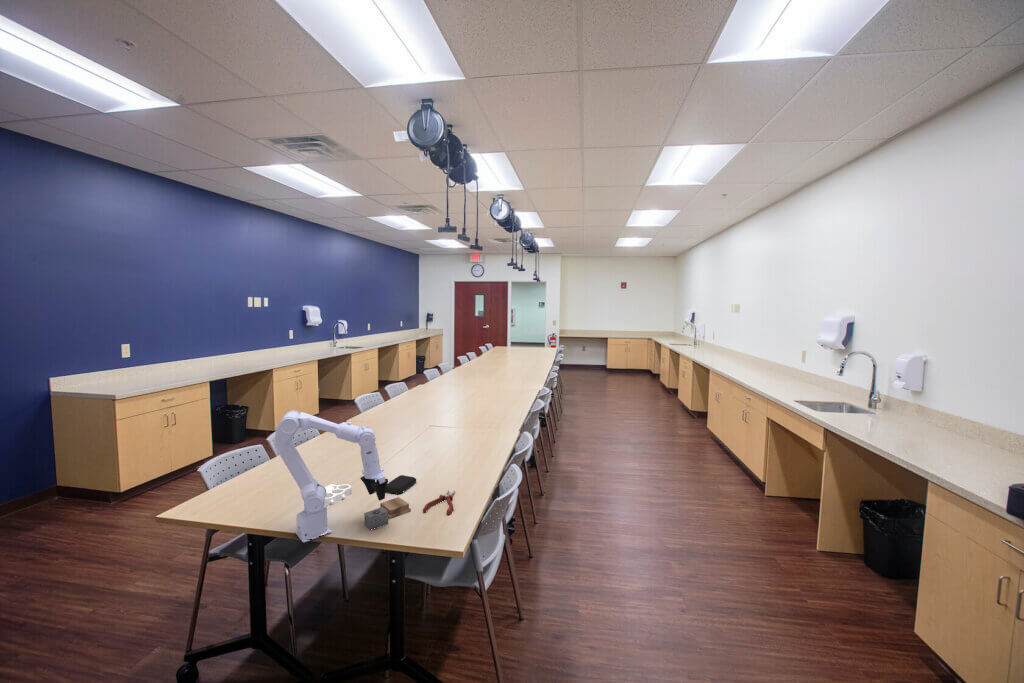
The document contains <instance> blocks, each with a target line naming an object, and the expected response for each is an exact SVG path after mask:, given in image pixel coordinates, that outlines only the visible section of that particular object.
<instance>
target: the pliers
mask: <svg viewBox="0 0 1024 683" xmlns="http://www.w3.org/2000/svg"><path fill="white" fill-rule="evenodd" d="M449 492H450V489H448V490H447V491H446V492H445V494H444V495H443V494H440V495H439V497H437V498H435V499H433V500H431V501H429V502H427V503H426V504H425V505H424V507H423V508H422V512H423V514H426V513H427V512H426V511H428V510H429V509H431V508H433V507H434V506H437V505H438V503H439V504H441V503H443V502H445V501H446V500H447V501H446V503H447V505H449V506H448V508H447V510H446V513H445V514H446V516H447V515H448V516H450V515H451V514H452V513H453V511H454V504H453V501H454V494H455V492H456V490H453V491H452V492H450V493H449ZM444 500H445V501H444ZM452 500H453V501H452ZM442 501H443V502H442ZM440 502H441V503H440ZM436 504H437V505H436Z"/></svg>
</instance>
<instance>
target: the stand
mask: <svg viewBox="0 0 1024 683" xmlns="http://www.w3.org/2000/svg"><path fill="white" fill-rule="evenodd" d="M379 505H380V506H379V508H380V507H383V508H385V509H386V510H387V511H388V520H391V519H394V518H396V517H399V516H402V515H405V514H407V513H410V512H411V511H412V509H411V508H410V503H408V502H407V501H405V500H404V499H403V498H401V497H399V496H397V497H394V498H393V499H388V500H385V501H383V502H381V503H380V504H379Z"/></svg>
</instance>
